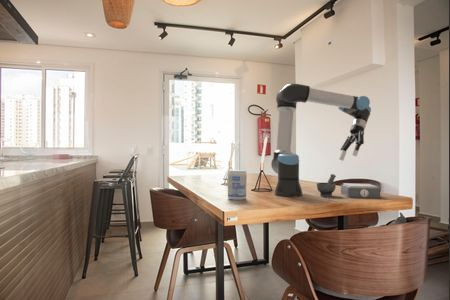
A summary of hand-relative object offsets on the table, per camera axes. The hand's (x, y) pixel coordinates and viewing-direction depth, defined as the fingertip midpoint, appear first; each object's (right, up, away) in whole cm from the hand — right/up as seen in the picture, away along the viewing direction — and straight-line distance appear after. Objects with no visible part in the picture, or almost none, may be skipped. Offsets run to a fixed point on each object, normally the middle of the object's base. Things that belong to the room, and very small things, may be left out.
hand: (347, 157), depth 167 cm
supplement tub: (-67, -21, -22) cm, 73 cm away
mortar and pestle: (-16, -21, -12) cm, 29 cm away
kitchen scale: (+2, -21, -11) cm, 24 cm away
